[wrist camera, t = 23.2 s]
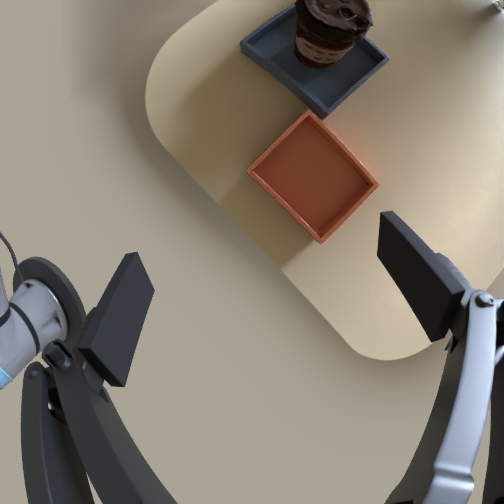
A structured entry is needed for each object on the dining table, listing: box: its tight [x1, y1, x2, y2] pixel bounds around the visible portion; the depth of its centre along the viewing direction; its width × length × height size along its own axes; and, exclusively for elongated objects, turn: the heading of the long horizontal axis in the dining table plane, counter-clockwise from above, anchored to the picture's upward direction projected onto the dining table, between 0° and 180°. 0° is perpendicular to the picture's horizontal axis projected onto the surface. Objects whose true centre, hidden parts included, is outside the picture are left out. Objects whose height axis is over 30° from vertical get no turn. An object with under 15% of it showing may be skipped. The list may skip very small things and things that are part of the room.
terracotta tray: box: [246, 109, 379, 244], centre depth 33 cm, size 13×11×3 cm
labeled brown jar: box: [294, 0, 373, 69], centre depth 23 cm, size 9×8×13 cm
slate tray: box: [240, 3, 390, 119], centre depth 28 cm, size 15×14×3 cm
